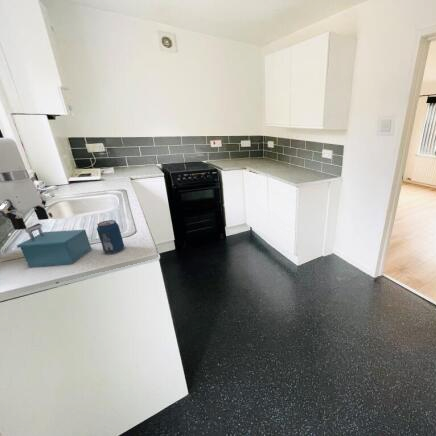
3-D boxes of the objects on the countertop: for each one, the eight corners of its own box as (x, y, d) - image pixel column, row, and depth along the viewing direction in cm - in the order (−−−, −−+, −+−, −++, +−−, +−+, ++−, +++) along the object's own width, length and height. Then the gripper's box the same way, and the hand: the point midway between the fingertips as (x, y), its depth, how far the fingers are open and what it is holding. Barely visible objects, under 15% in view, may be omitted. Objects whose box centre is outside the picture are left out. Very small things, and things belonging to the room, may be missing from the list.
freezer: (29, 267, 87) (20, 247, 84) (54, 251, 98) (46, 233, 95) (71, 264, 89) (64, 244, 86) (91, 249, 100) (85, 231, 97)
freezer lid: (17, 247, 84) (10, 232, 82) (44, 233, 95) (39, 220, 93) (64, 244, 86) (59, 229, 84) (85, 231, 97) (81, 218, 95)
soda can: (123, 245, 103) (115, 218, 99) (126, 250, 98) (118, 222, 94) (103, 250, 99) (94, 222, 94) (105, 256, 94) (96, 227, 90)
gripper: (22, 172, 89) (40, 216, 95) (-28, 182, 73) (-3, 234, 79) (45, 171, 90) (62, 215, 96) (0, 181, 74) (23, 232, 80)
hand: (32, 224), depth 88 cm, fingers open, 9 cm apart
